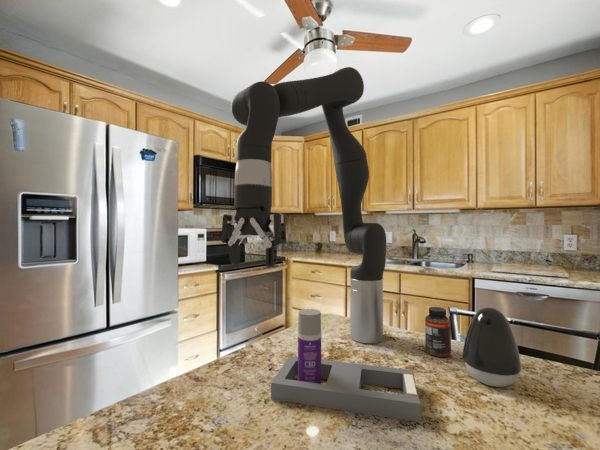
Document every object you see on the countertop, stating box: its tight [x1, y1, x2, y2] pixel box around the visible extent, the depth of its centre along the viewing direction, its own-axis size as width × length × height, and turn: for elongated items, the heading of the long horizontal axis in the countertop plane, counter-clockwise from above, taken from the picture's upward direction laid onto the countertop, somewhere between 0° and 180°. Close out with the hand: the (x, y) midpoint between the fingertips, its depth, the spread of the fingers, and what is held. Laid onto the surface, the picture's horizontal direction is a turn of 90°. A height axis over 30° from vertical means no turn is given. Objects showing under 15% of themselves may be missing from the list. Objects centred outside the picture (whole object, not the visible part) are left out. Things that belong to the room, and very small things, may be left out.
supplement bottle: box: [424, 306, 452, 358], centre depth 76 cm, size 6×6×11 cm
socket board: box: [270, 355, 421, 423], centre depth 58 cm, size 12×26×3 cm, turn 75°
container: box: [297, 308, 322, 384], centre depth 60 cm, size 5×5×15 cm
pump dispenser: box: [462, 306, 522, 388], centre depth 62 cm, size 10×10×15 cm
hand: (252, 265), depth 60 cm, fingers open, 8 cm apart
